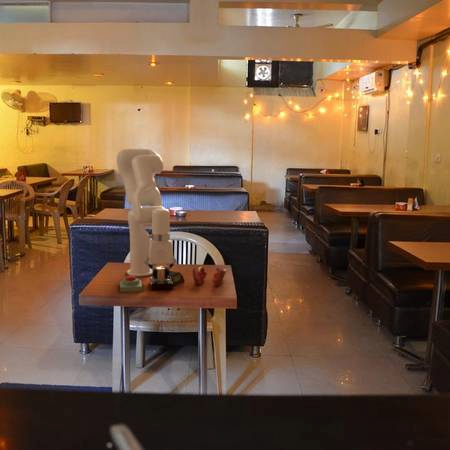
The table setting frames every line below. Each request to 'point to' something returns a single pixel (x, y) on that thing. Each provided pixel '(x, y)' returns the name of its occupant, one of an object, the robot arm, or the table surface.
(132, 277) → the lid button
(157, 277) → the dial
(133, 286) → the button base
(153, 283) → the dial panel
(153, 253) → the robot arm
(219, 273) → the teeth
